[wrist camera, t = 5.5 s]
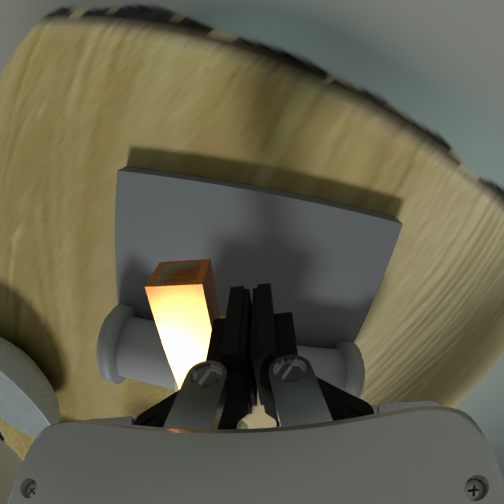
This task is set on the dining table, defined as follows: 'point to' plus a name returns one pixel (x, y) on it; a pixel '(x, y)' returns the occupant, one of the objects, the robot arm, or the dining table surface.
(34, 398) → the cereal bowl
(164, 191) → the valve board
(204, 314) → the valve lever
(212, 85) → the dining table surface
